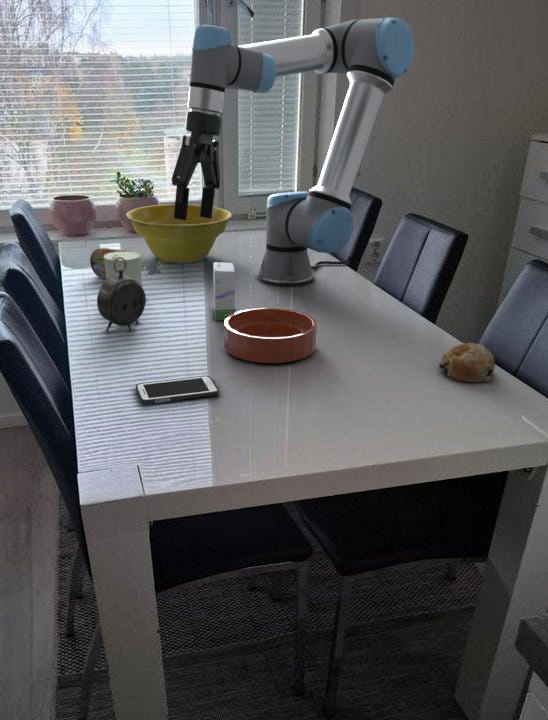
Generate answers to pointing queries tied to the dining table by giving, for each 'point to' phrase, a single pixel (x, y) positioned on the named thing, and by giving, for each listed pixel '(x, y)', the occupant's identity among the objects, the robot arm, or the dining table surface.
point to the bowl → (270, 335)
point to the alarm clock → (121, 300)
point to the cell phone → (176, 389)
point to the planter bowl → (178, 231)
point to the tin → (101, 260)
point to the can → (123, 264)
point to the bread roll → (468, 363)
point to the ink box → (224, 290)
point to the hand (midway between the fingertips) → (193, 218)
